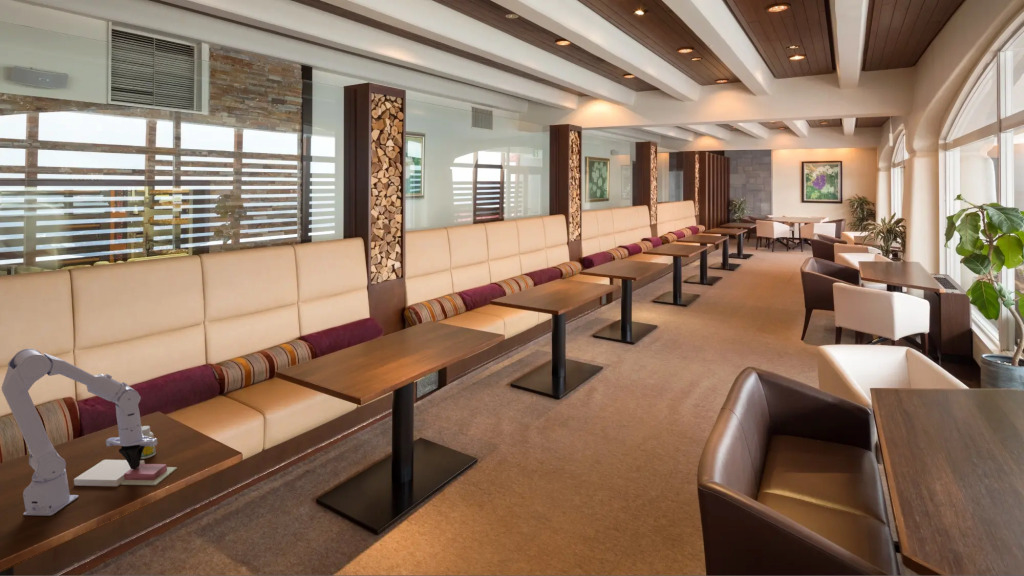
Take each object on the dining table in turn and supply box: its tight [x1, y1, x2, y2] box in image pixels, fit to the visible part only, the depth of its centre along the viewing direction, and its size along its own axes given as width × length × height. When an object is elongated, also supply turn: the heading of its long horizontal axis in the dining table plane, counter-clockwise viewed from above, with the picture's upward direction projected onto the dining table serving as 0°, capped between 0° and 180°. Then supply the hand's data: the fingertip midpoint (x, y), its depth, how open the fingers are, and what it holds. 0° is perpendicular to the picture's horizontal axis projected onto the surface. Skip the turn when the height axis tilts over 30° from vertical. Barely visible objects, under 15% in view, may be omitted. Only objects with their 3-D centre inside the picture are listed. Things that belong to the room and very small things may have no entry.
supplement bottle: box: [140, 425, 157, 460], centre depth 183 cm, size 5×5×10 cm
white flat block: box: [73, 459, 146, 487], centre depth 171 cm, size 12×13×2 cm
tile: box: [124, 463, 168, 480], centre depth 171 cm, size 6×9×2 cm, turn 87°
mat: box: [120, 466, 178, 486], centre depth 171 cm, size 10×11×1 cm
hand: (135, 467), depth 171 cm, fingers closed
